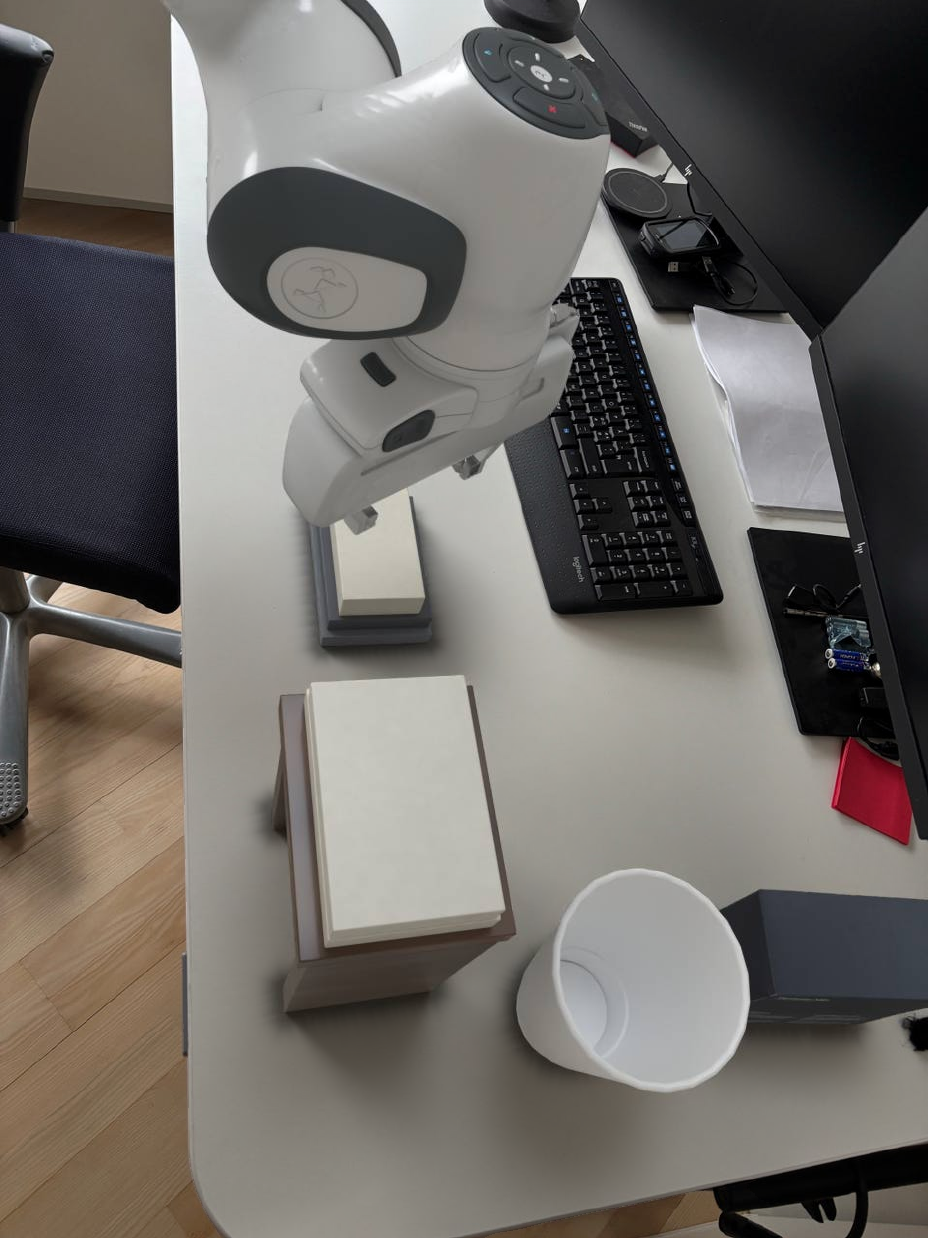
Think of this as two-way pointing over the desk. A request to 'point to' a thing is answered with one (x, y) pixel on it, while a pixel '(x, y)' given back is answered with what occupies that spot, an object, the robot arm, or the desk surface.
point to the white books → (399, 810)
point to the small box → (831, 956)
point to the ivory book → (379, 562)
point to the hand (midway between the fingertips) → (413, 496)
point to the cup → (638, 984)
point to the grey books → (362, 626)
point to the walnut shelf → (315, 967)
